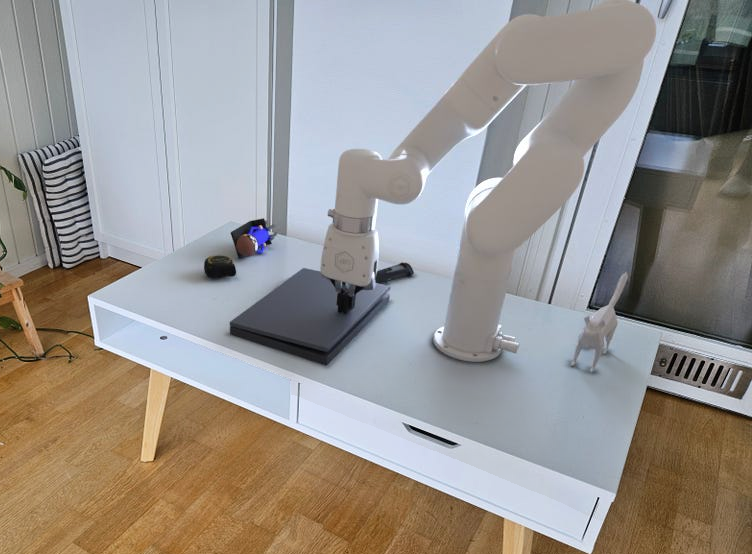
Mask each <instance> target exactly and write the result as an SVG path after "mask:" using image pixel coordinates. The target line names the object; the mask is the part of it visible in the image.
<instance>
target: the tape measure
mask: <svg viewBox="0 0 752 554" xmlns="http://www.w3.org/2000/svg"><path fill="white" fill-rule="evenodd" d="M203 271H204V274H205V275H206V277H207V278H208V279H223V278H230V277H231V278H232V277H235V276H236V275H237V268H236V265H235V263H234V261H233V259H232V258H231V257H229V256H227V255H223V254H217V255H211V256H208V257H206V258H205V260H204V262H203Z"/></svg>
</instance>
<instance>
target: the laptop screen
mask: <svg viewBox="0 0 752 554" xmlns="http://www.w3.org/2000/svg"><path fill="white" fill-rule="evenodd" d="M321 274H322V273H321V270H315V269H311V268H307V267H302V268H301V269H300V270H298V271H297V272H296V273H294V274H293V275H292V276H290V277H288V278H287V279H286V280H285V281H283V282H282V283H280V284H279V285H278V286H276V287H275V288H274V289H273V290H271V291H270V292H268V293H267V294H266V295H264V296H263V297H262V298H260V299H259V300H258V301H256V302H255V303H253V304H252V305H251V306H249V307H247V308H246V310H244V311H243V312H241V313H240V314H238V315H237V316H236V317H235V318H233V319H232V320H230V321H229V327H230V326H232V327H236V328H239V329H243V330H247V331H251V332H254V333H258V334H262V335H265V336H269V337H273V338H277V339H280V340H284V341H288V342H292V343H295V344H299V345H303V346H306V347H310V348H314V349H318V350H321V351H325V352H328V351H329V350H330V349H331V348H332V347H333V346H334V345H335V344H336V343H337V342H338V341H339V340H340V339H341V338H342V337H343V336H344V335H345V334H346V333H347V332H348V331H349V330H350V329H351V328H352V327H353V326H354V325H355V324H356V323H357V322H358V321H359V320H360V319H361V318H362V317H363V316H364V315H365V314H366V313H367V312H368V311H369V310H370V309H371V308H372V307H373V306H374V305H375V304H376V303H377V302H378V301H379V300H380V299H381V298H382V297H383V296H384V295H385V294H388V292H390V290H391V285H388V284H385V283H381V284H379V283H376V287H375V288H374V289H373V290H361V291H359V292H358V293H356V299H355V306H354V308H353V309H352V310H350V311H349V312H348V313H347V314H344V313H343V311H342V312H338V305H337V294H338V293H337V292H336V291H335V287H334V285H333V284H332V283H331V281H330V280H327V279H326V278H324V277H322V275H321ZM349 285H350V284H349V283H347V288H348V289H349Z"/></svg>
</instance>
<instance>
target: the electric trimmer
mask: <svg viewBox="0 0 752 554" xmlns="http://www.w3.org/2000/svg"><path fill="white" fill-rule="evenodd" d="M414 274H415V272H414V269H413V267H412V266H411V265H410V264H409V263H408V262H400V263H399V264H395V265H392V266H389V267H386V268H382V269H378V270H377V275H376V277H375V283H379V284H385V283H387V282H388V281H389V280H390V281H391V280H393V279H396V278H401V277H404V276H408V277H412V276H413V275H414Z"/></svg>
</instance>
